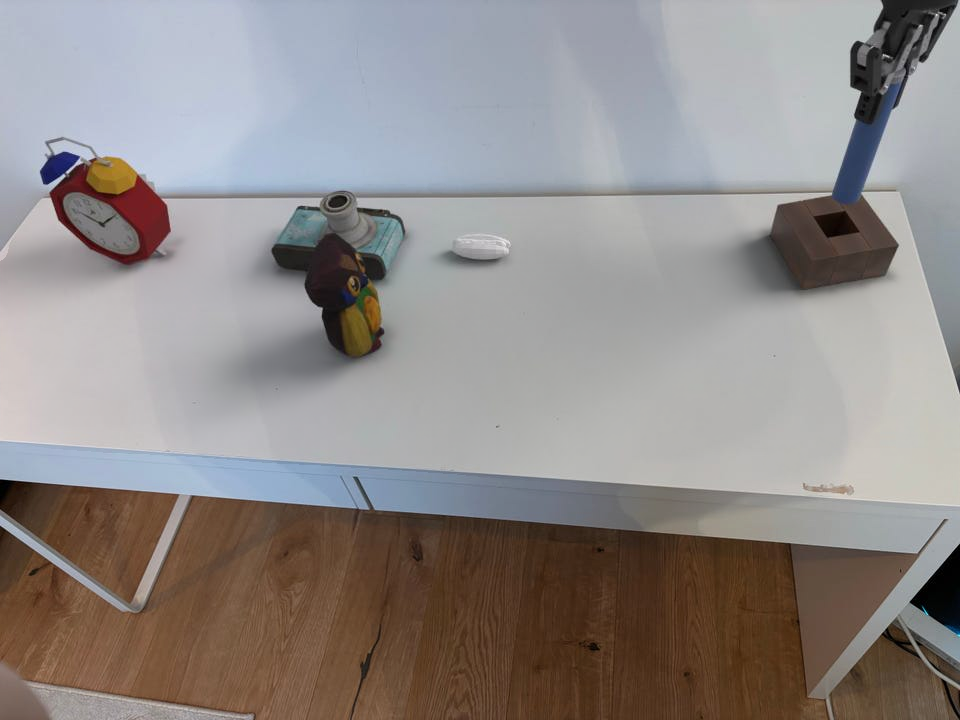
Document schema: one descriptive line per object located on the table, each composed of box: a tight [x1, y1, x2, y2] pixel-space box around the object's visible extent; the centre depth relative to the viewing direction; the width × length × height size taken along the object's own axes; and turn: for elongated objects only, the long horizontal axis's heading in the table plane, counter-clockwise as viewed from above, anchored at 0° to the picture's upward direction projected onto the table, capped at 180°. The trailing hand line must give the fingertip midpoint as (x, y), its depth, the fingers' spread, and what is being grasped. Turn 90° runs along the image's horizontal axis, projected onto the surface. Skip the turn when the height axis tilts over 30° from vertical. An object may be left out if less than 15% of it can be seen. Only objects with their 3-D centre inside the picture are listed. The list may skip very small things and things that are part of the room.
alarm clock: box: [39, 136, 172, 265], centre depth 102 cm, size 15×9×20 cm, turn 72°
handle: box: [831, 67, 906, 204], centre depth 79 cm, size 3×3×16 cm
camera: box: [270, 190, 406, 280], centre depth 100 cm, size 16×10×10 cm
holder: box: [769, 193, 900, 290], centre depth 90 cm, size 10×10×5 cm
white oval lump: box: [451, 233, 512, 261], centre depth 99 cm, size 3×8×3 cm, turn 79°
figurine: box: [303, 232, 385, 358], centre depth 86 cm, size 10×7×15 cm
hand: (875, 112), depth 77 cm, fingers closed on handle, 3 cm apart
